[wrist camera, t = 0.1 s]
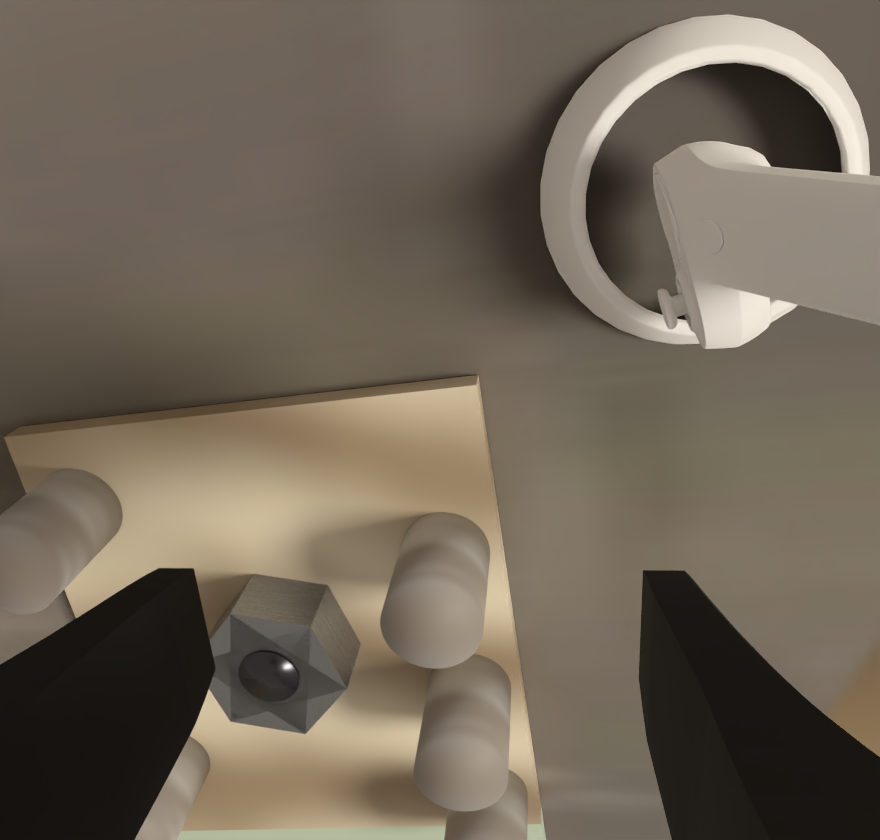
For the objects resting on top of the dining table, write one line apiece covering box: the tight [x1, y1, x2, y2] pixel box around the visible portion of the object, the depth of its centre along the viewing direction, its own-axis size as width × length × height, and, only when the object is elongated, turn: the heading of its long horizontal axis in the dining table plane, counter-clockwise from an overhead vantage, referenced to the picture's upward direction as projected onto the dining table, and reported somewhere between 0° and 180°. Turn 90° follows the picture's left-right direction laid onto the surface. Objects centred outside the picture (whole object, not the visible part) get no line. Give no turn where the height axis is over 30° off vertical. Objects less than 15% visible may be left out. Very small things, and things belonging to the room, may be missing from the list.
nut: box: [209, 574, 361, 734], centre depth 23 cm, size 5×4×2 cm
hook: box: [540, 15, 880, 349], centre depth 16 cm, size 8×12×7 cm
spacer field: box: [0, 375, 541, 840], centre depth 23 cm, size 16×14×4 cm
